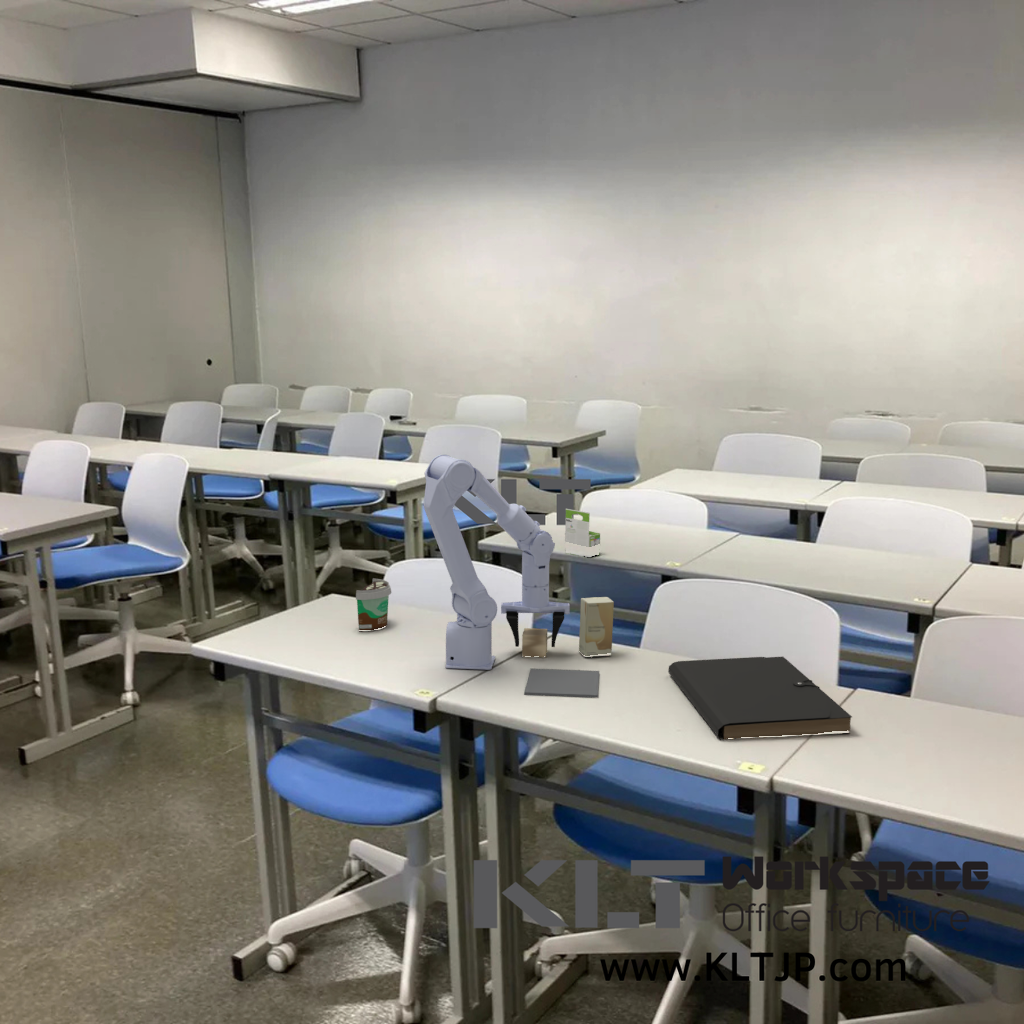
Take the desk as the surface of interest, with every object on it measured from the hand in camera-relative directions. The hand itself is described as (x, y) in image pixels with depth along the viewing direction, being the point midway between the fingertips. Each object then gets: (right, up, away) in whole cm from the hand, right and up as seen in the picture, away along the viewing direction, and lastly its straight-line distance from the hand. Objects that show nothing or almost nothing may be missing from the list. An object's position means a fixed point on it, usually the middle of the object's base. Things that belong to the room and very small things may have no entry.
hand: (535, 645), depth 223 cm
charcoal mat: (+5, -5, -18) cm, 19 cm away
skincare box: (+13, -2, 0) cm, 13 cm away
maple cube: (0, -2, 0) cm, 2 cm away
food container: (-36, +2, +20) cm, 41 cm away
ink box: (+17, +15, +95) cm, 98 cm away
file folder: (+40, -8, -28) cm, 50 cm away
